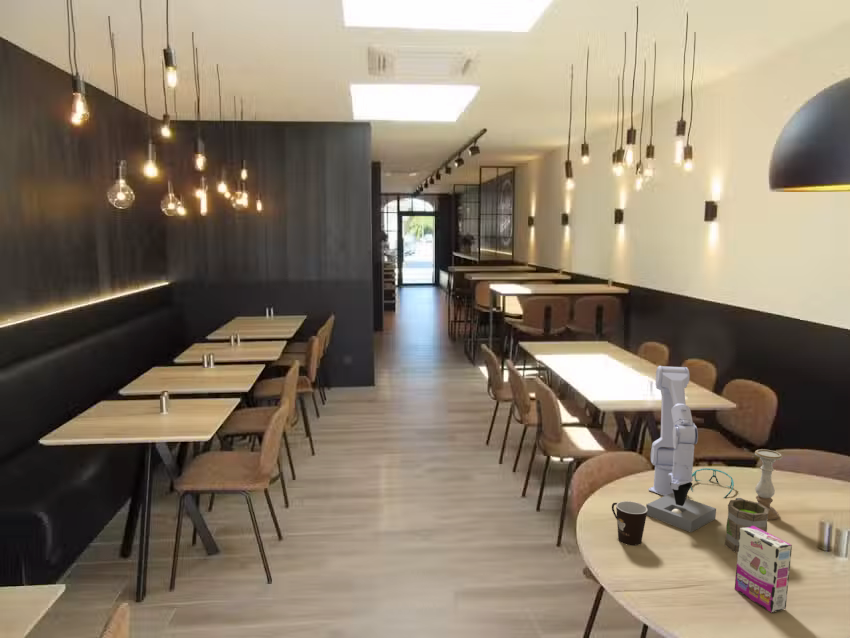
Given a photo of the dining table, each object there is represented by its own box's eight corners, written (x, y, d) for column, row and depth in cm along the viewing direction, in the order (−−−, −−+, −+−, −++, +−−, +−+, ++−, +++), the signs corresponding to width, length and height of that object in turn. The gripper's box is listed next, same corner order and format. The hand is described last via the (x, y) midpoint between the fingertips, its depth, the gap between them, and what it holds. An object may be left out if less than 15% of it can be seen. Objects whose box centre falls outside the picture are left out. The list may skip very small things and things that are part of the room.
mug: (771, 558, 175) (775, 517, 173) (729, 554, 177) (733, 513, 175) (754, 532, 190) (757, 494, 188) (715, 528, 192) (718, 491, 190)
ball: (679, 523, 198) (668, 518, 199) (681, 513, 199) (670, 508, 200) (682, 520, 195) (671, 516, 196) (685, 510, 196) (674, 505, 197)
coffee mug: (649, 547, 179) (651, 514, 178) (618, 547, 180) (621, 513, 178) (636, 528, 191) (638, 497, 190) (608, 528, 191) (609, 496, 190)
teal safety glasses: (735, 485, 226) (736, 473, 225) (729, 504, 214) (730, 491, 213) (693, 477, 234) (694, 464, 232) (685, 495, 221) (686, 481, 220)
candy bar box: (787, 609, 150) (793, 544, 148) (771, 614, 149) (777, 548, 146) (748, 585, 161) (753, 524, 159) (733, 589, 159) (738, 527, 157)
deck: (671, 502, 210) (671, 492, 210) (715, 519, 199) (716, 508, 198) (645, 514, 201) (646, 504, 200) (690, 532, 189) (691, 521, 189)
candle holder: (776, 522, 197) (782, 460, 194) (745, 514, 202) (750, 453, 199) (780, 513, 204) (786, 452, 201) (750, 505, 209) (755, 446, 206)
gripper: (677, 454, 205) (674, 494, 207) (662, 466, 194) (659, 508, 195) (699, 459, 200) (696, 500, 202) (685, 471, 189) (682, 515, 191)
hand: (679, 504), depth 198 cm, fingers closed
